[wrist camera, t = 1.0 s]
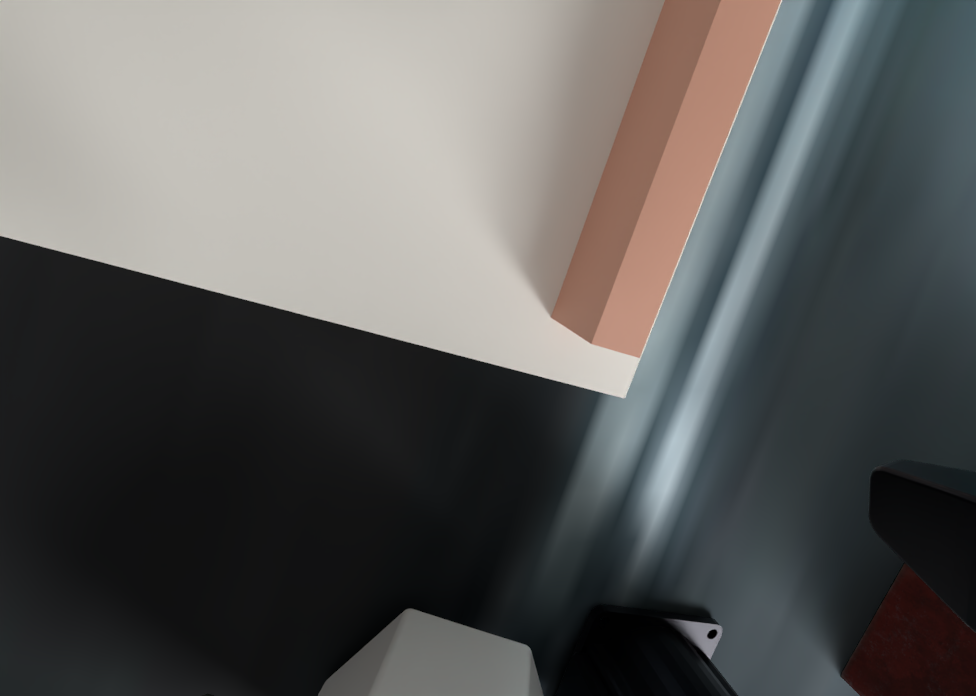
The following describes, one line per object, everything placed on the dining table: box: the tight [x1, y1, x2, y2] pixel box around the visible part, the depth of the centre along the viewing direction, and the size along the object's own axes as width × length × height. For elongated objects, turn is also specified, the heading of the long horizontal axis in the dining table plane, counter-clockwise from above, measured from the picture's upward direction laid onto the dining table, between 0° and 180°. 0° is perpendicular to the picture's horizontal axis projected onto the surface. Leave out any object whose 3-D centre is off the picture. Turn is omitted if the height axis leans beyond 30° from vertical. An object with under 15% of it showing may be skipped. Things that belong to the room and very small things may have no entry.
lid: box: [0, 0, 782, 399], centre depth 11 cm, size 16×12×3 cm
